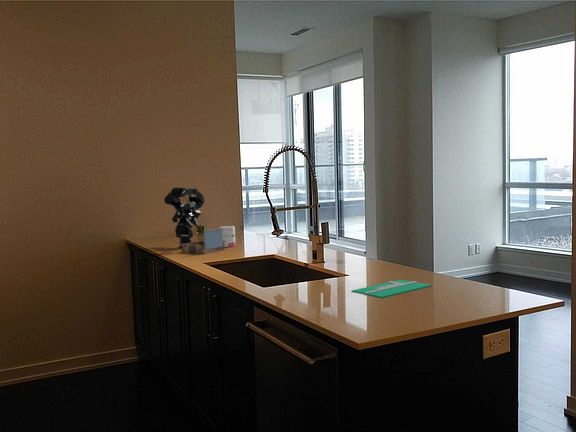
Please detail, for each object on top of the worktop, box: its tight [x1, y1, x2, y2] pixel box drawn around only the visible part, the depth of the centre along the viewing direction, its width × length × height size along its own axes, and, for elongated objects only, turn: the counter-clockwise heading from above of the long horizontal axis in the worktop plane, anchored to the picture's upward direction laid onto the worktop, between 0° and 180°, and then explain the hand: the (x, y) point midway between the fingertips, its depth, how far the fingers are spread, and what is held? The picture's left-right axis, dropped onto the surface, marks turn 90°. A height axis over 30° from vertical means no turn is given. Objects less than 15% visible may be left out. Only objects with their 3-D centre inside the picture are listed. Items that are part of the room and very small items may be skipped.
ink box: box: [218, 225, 236, 248], centre depth 349 cm, size 9×5×12 cm, turn 84°
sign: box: [350, 279, 433, 299], centre depth 217 cm, size 27×1×15 cm
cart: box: [180, 240, 225, 255], centre depth 333 cm, size 18×19×4 cm
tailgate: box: [202, 228, 223, 250], centre depth 328 cm, size 1×14×10 cm, turn 144°
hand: (194, 226), depth 336 cm, fingers open, 4 cm apart
